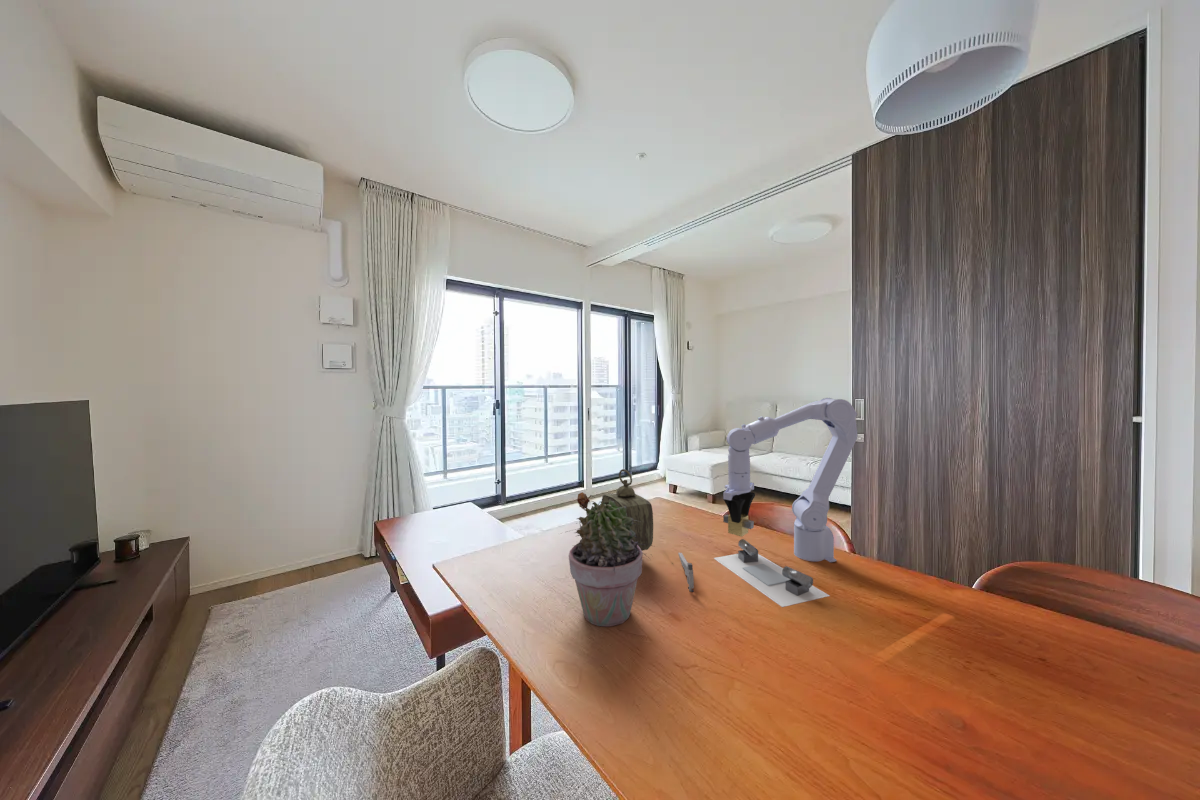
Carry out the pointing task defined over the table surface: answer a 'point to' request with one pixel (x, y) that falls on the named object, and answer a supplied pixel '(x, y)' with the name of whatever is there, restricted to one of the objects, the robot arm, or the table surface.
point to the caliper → (687, 571)
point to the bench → (768, 580)
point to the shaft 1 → (747, 552)
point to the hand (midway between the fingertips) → (739, 519)
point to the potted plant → (605, 563)
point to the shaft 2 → (797, 581)
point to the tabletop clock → (634, 511)
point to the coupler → (738, 525)
